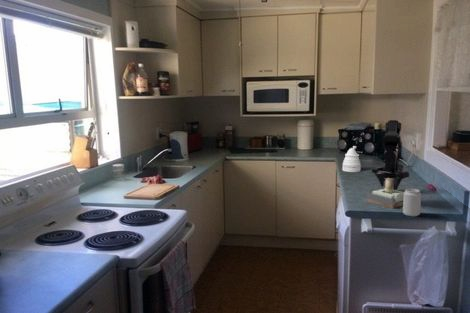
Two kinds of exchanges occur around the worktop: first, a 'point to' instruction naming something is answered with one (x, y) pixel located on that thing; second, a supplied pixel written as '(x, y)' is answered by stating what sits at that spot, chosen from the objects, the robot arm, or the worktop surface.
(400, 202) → the board
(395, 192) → the block
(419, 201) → the can
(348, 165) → the honey pot
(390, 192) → the dowel
